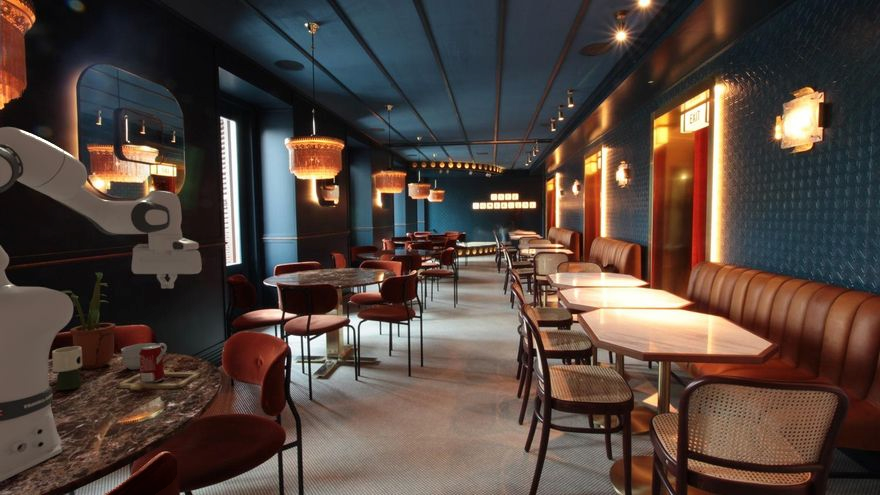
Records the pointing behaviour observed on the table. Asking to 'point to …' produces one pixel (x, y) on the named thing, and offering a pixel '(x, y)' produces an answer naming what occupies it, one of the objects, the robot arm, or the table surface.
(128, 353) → the teacup
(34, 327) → the robot arm
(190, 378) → the wooden rectangular frame
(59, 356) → the character mug
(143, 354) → the soda can
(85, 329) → the potted plant
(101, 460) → the table surface
